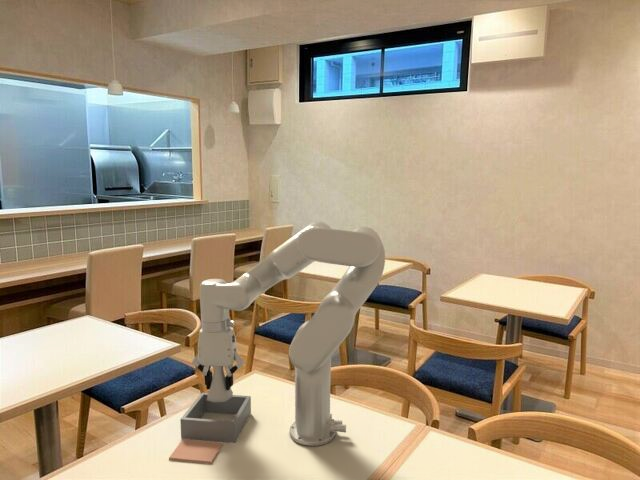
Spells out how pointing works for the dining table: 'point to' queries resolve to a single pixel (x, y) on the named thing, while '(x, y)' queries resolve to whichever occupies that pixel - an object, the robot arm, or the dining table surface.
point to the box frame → (216, 428)
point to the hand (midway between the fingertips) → (219, 386)
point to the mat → (196, 451)
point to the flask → (219, 387)
